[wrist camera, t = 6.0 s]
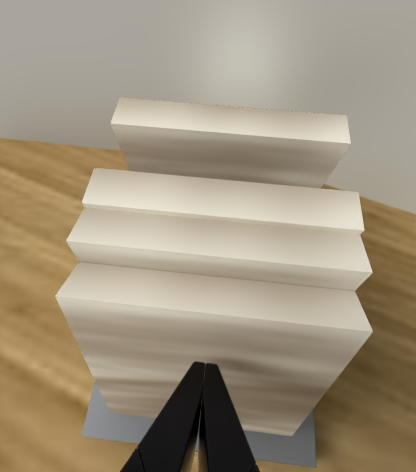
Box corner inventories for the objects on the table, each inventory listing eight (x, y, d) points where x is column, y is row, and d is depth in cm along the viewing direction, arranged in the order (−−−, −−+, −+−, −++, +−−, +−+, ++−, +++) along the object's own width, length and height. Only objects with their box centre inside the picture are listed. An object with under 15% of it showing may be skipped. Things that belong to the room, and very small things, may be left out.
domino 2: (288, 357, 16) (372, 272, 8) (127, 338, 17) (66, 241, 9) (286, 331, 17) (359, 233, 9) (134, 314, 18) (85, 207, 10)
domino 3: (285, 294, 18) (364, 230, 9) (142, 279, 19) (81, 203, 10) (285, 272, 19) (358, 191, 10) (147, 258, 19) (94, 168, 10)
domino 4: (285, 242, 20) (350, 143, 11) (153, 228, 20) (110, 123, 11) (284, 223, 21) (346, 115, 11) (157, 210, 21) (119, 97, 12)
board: (309, 461, 15) (316, 467, 14) (88, 431, 16) (81, 436, 15) (299, 217, 22) (303, 211, 21) (144, 202, 22) (142, 196, 22)
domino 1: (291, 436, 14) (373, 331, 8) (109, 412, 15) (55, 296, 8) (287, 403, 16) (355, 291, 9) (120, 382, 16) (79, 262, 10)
